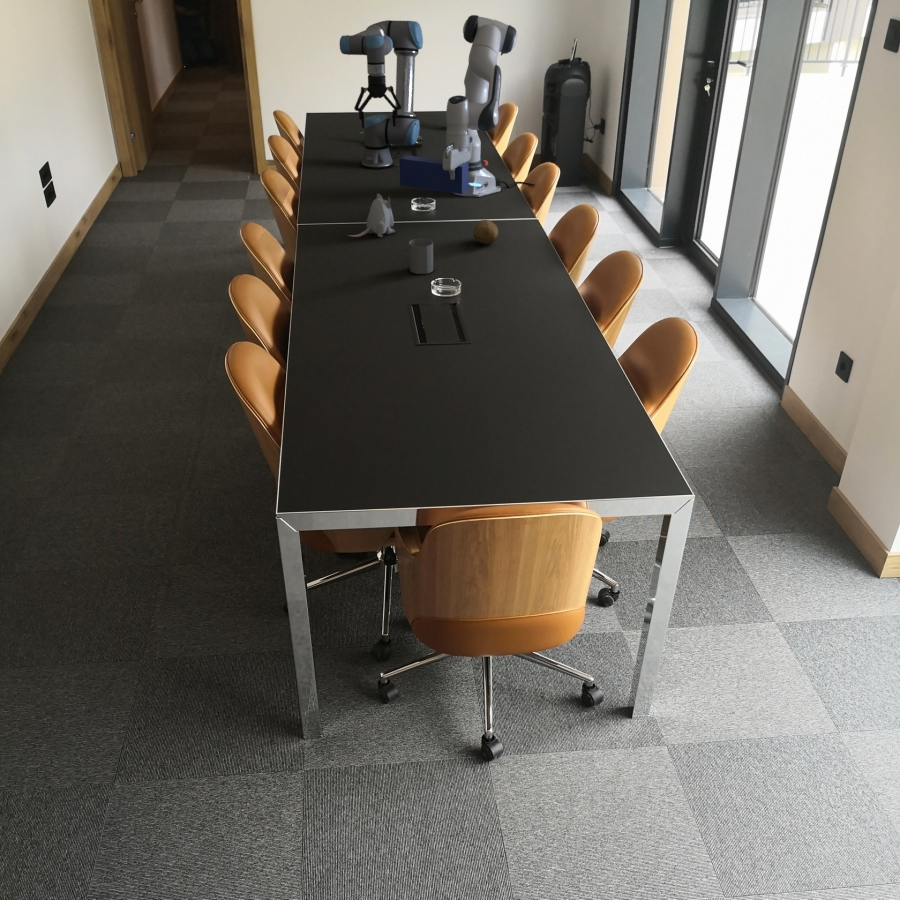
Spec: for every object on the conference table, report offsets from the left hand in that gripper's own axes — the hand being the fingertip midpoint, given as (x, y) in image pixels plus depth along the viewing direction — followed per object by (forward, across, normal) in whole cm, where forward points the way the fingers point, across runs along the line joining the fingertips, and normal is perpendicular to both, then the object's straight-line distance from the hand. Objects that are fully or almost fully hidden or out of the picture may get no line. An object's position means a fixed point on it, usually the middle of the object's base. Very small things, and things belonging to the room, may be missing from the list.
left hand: (378, 126), depth 379 cm
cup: (+27, +2, -104) cm, 107 cm away
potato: (+27, +31, -80) cm, 90 cm away
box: (+15, +17, -45) cm, 50 cm away
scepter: (+27, +13, +85) cm, 90 cm away
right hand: (+9, +25, -51) cm, 57 cm away
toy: (+27, -12, -66) cm, 72 cm away
